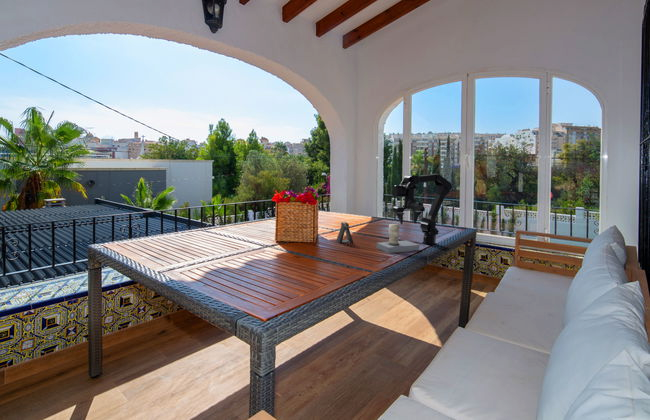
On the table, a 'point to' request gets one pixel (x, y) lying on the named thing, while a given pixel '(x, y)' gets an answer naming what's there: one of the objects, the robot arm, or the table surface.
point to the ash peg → (393, 234)
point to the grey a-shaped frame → (341, 233)
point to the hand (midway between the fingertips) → (408, 223)
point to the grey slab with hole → (398, 246)
